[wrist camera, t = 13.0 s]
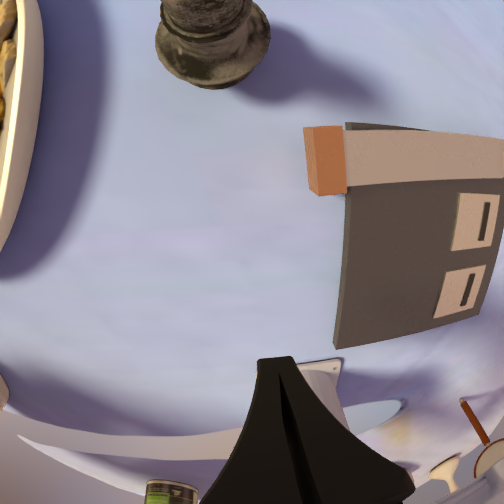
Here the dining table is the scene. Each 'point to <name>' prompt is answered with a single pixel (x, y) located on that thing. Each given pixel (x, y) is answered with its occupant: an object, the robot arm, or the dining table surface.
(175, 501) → the coffee can
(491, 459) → the magnifying glass
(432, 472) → the flower in vase
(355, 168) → the swing arm
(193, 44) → the grey tall carved piece
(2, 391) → the lamp
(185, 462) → the dining table surface
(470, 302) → the label panel
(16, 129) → the bowl
